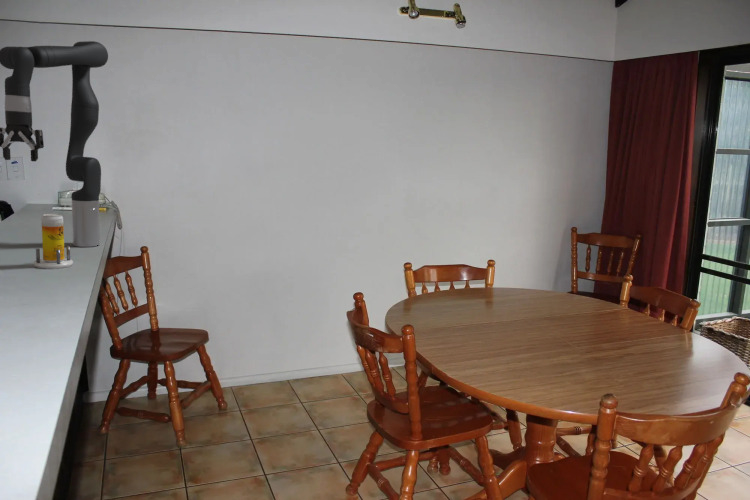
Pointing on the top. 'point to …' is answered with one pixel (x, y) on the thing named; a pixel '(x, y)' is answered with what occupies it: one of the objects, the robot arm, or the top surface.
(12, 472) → the top surface
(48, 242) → the beer can
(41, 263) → the pin tray
